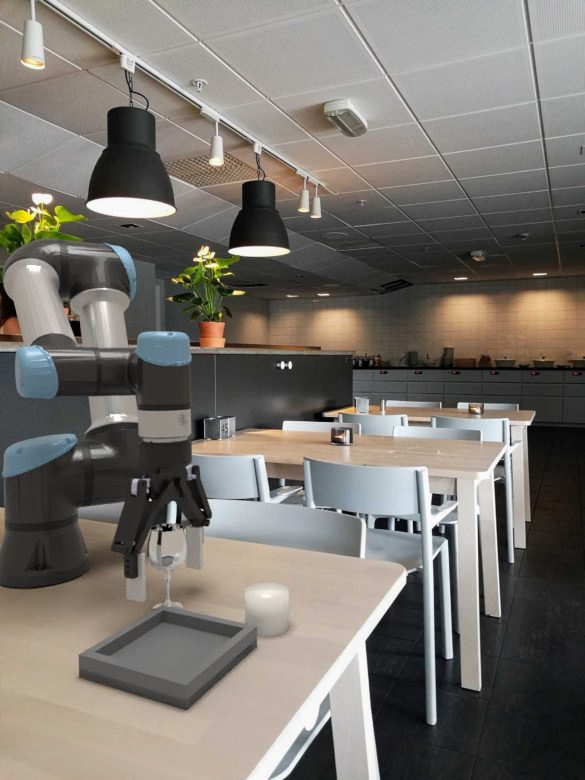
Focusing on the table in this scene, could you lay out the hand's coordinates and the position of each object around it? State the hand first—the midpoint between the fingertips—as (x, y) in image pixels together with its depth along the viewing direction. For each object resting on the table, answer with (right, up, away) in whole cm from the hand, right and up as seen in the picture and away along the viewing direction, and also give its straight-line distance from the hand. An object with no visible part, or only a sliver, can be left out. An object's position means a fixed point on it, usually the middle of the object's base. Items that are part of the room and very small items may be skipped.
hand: (167, 582), depth 85 cm
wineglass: (0, -4, 0) cm, 4 cm away
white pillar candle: (+15, -4, -6) cm, 16 cm away
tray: (+4, -4, -15) cm, 16 cm away
